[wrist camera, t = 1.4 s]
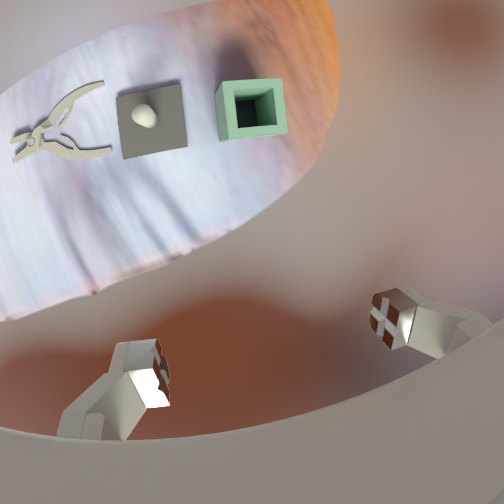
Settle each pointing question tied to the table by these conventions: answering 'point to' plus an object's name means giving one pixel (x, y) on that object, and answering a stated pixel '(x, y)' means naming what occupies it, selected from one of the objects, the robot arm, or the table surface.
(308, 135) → the table surface
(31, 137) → the pliers
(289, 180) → the table surface
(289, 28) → the table surface
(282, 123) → the sleeve
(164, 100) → the post stand
